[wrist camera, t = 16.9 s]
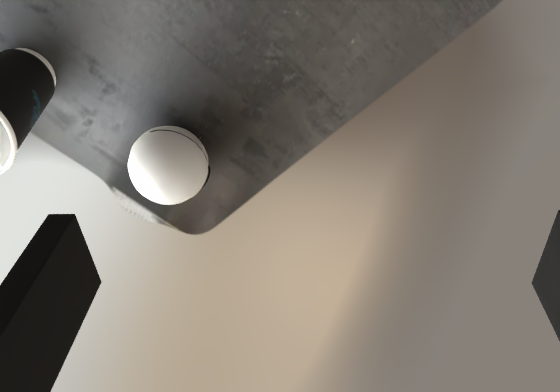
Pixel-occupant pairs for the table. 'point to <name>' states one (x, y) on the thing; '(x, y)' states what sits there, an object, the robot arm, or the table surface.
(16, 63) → the dixie cup
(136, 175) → the white sphere
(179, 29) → the table surface
